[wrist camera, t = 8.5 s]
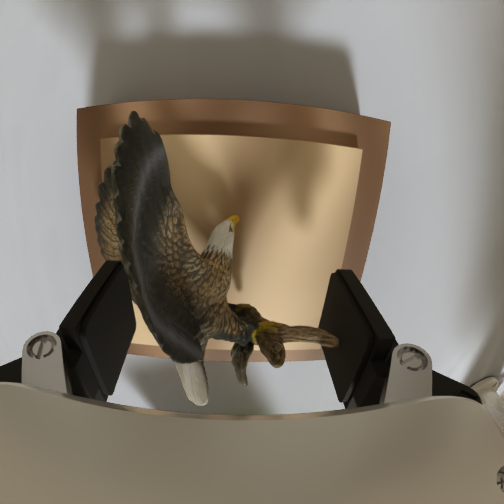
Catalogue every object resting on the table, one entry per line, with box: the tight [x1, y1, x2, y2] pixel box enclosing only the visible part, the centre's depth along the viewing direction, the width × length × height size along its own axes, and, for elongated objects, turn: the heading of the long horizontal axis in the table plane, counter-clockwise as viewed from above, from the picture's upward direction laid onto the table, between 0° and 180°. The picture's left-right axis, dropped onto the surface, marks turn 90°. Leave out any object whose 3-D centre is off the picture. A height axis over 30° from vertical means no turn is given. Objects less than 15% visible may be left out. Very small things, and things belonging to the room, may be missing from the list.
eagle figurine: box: [94, 111, 339, 406], centre depth 10 cm, size 8×7×9 cm
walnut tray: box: [77, 99, 391, 362], centre depth 15 cm, size 14×14×4 cm
